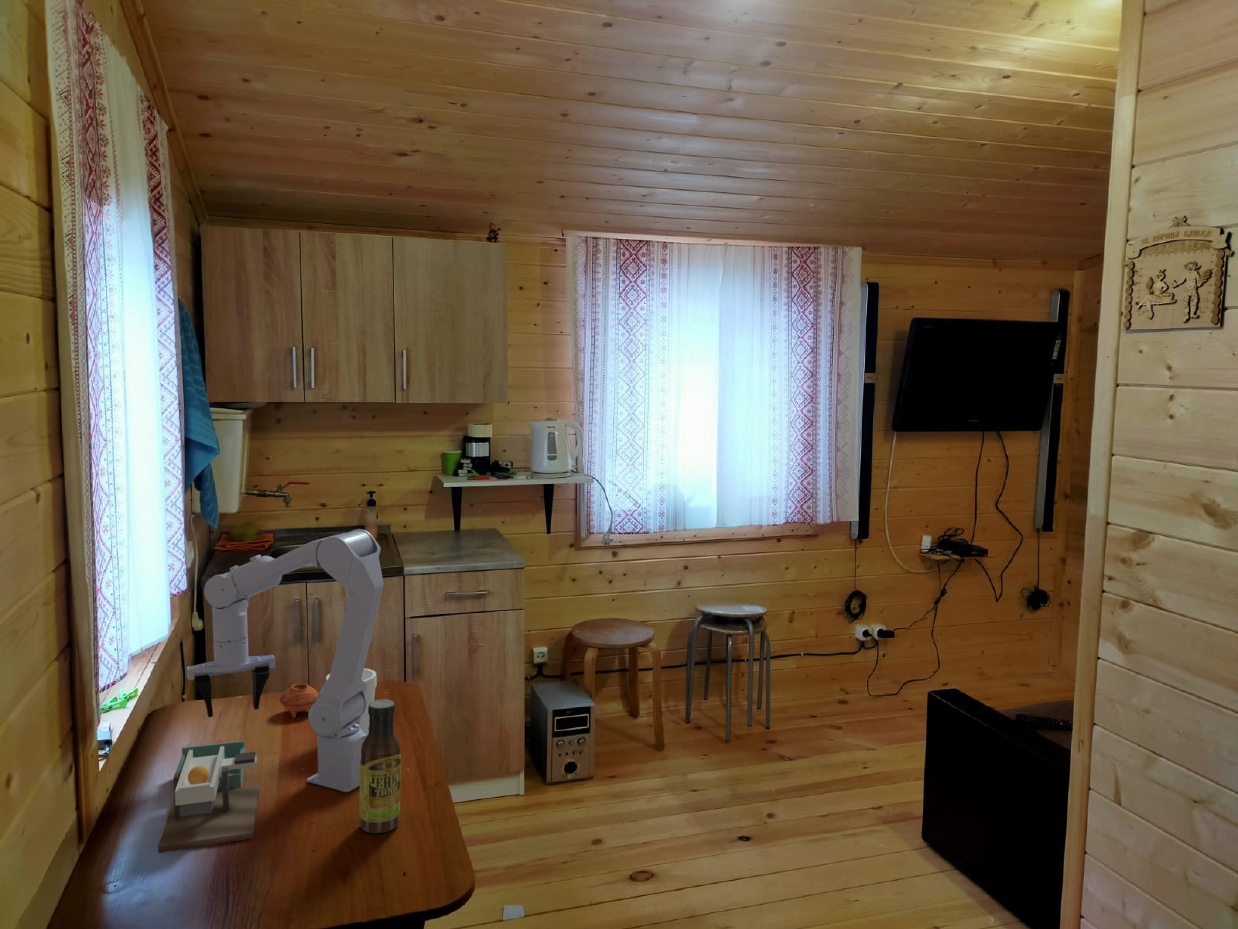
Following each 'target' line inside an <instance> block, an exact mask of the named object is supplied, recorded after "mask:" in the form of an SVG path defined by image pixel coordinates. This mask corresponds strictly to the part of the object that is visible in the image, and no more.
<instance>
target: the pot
mask: <svg viewBox="0 0 1238 929" xmlns="http://www.w3.org/2000/svg"><path fill="white" fill-rule="evenodd" d="M318 694H319V692H318V690H316V689H315V688H314V687H312V686H310V685H308V683H306V682H299V683H295V684H291V685H290V687H288V688H287V689H286V690H285V691H284V692H283V693H282V694H281V696H280V698H279V703H280V705H282V707H283V708H285V709H286V710H288V711H289V712H290V715H291V718H296V717H297V714H298V713H301V712H305V711H308V710H310V708H311V707H312V705H313V704H314V703H315V702H316V700H317V698H318Z"/></svg>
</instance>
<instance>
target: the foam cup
mask: <svg viewBox="0 0 1238 929" xmlns="http://www.w3.org/2000/svg"><path fill="white" fill-rule="evenodd" d="M329 676H330V673H328V674H327V675H326V676H325V682H326V681H327V680H328V678H329ZM361 679H362V680H364V681H365V682H366V684H367V687H366V698H367V708H366V710H365V712H364V714H363V715H362V716H361V723H360V728H361V730H362V731H363V732H364V733H365V734H367V735H368V734H369V729H368V728H369V713H368V707H369V704H370V703H371V702H373V701H375V695H376V694H375V693H376V687H377V683H378V682H377V672H376V671H375V670H373V669H370V668H364V670H363V674H362V678H361Z"/></svg>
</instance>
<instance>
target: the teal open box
mask: <svg viewBox="0 0 1238 929" xmlns="http://www.w3.org/2000/svg"><path fill="white" fill-rule="evenodd" d="M245 742H246V741H245V739H244V740H236V741H235V740H234V741H226V742H219V743H217V742H215V743H207V744H199V745H198V744H197V745H192V746H191V745H190V746H183V747H182V748H181V756H180V759H179V762H178V765H177V768H176V771H175V773H180V775H181V772H182V769H183V766H184V763H185V760H186V757H187V754H188V751H189V750H193V758H195V757H204V756H213V755H218V754H219V750H220V747H221V746H224V756H225V759H226V758H235V757H236V754H240V753H246V747H245V746H246V744H245ZM244 771H246V768H241V769H233V770H228V776H229V789H234V788H241V787H243V783H244V776H245V772H244ZM242 782H243V783H242ZM218 790H222V772H221V776H220V780H219V785H218V789H217V791H218Z"/></svg>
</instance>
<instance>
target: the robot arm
mask: <svg viewBox="0 0 1238 929" xmlns="http://www.w3.org/2000/svg"><path fill="white" fill-rule="evenodd" d="M380 553H381V546H380V545H379V543H378V542H377V540H376V539H375V538H374V536H373V535H372V534H371V533H370V532H369V531H368V530H366V529H362V528H357V529H353V530H351V531H349V532H343V533H339V534H334V535H331V536H327V537H323V538H320V539H316V540H312V541H310V542H307V543H305V544H303V545H301V546H299V547H297V548H294V549H293V550H291V551H289V552H287V553H284V554H282V555H280V556H278V557H276V558H274V557H272V556H269V555H263V556H262V555H261V554H257V555H255V556H252V557H250V561H249V562H246V563H245V564H242V565H240V566H239V565H234V566H232V567H229V571H227V572H225V573H223V574H222V573H221V574H214V575H213V576H212V577H211V578H209V579H208V580H207V581H206V583H205V584H204V587H203V588H204V590H203V592H204V598H205V599H206V602H208V604H210V605H211V612H212V634H213V635H212V636H213V638H212V639H213V661H209V662H204V663H199V664H196V665H191V666H187V667H186V677H187V678H186V679H187V680H188V681H191V680H192V681H193V680H194V683H195V686H196V688H197V689H198V691H199V692H200V694H201V696H202V699H203V701H204V703H205V707H206V714H207V717H208V718H212V717H214V712H213V710H214V709H213V704H212V682H211V677H212V676H219V675H225V674H233V673H241V672H247V671H251V675H252V708H254V710H259V709H260V702H261V697H262V693H263V690H264V689H265V685H266V684H267V682H268V679H269V677H270V674H271V673H270V669H274V668H276V657H275V656H274V654H270V655H255V656H254V655H253V656H249V636H248V635H249V634H248V633H249V632H248V631H249V630H248V608H249V600H250V598H251V597H253V596H255V595H259V594H260V593H262V592H265V591H267V590H270V589H272V588H274V587H277V586H279V585H280V583H281V581H282V579H283V575H286V574H288V573H290V572H293V571H296V570H298V569H300V568H303V567H305V566H308V565H312V566H314V568H320V567H321V568H322V569H323V570H324V571H325V572H326V574H328V575H329V576H330V577H332V578H333V579H334V580H335V581H336V582H337V583H339V584H340V585H341V586H342V587H343V588H344V589H346V591H347V592H348V597H347V602H346V607H345V610H344V613H343V619H342V621H341V622H342V623H341V626H340V629H339V630H340V631H339V636H338V638H337V639H338V640H337V642H336V648H335V652H334V656H333V661H332V665H331V669H330V673H329V674H330V676H329V678H328V680H327V681H326V680H325V683H324V684H323V686H322V687H321V689H320V690H319V692H318V693H319V694H318V698H317V700H316V702H315V703H314V704H313V705H312V707H311V708H310V709H308V710H309V711H308V722H309V725H310V727H311V728H312V730H313V731H314V732H315V735H316V738H317V773H315V774H314V775H312V776H310V777H308V778H307V779H306V782H308V783H311V784H315V785H318V786H322V787H325V788H329V789H332V790H333V789H334V790H336V791H339V792H344V793H348V792H351V791H352V790H354V789H356V788H358V787H360V761H361V747H362V743H363V742H364V740H365V738H366V737H367V734H365V733H364V732H363V731H362V730H361V728H360V723H361V716H362V715H363V714H364V712H365V710H366V708H367V698H366V687H367V684H366V682H365V681H364V680H362V679H361V678H362V674H363V670H364V669H365V666H366V661H367V659H368V658H367V657H368V652H369V649H370V644H371V640H372V636H373V633H374V628H375V625H376V620H377V618H378V612H379V609H380V604H381V601H382V596H383V592H384V578H383V575H382V574H383V573H382V569H381V564H380Z"/></svg>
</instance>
